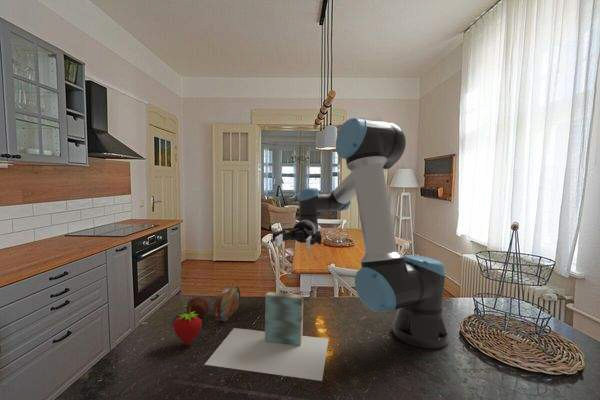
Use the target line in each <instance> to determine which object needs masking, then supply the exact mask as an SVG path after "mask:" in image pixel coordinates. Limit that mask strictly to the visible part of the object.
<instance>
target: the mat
mask: <svg viewBox="0 0 600 400" xmlns="http://www.w3.org/2000/svg"><path fill="white" fill-rule="evenodd" d="M329 339H330V338H326V337H325V338H324V337H316V336H308V335H302V344H301V346H300V345H291V344H283V343H275V342H266V341H265V330H264V331H263V330H255V329H246V328H237V327H233V329H232V330H231V331H230V332H229V333H228V335H227V336H226V338H224V340H223V341H222V342H221V344H220V345H219V346H218V347H217V348H216V349H215V351H214V352H213V353H212V354H211V356H210V357H209V358H208V359H207V360H206V362H205V363H204V365H205V366H209V367H210V366H211V367H218V368H227V369H233V370H239V371H240V370H241V371H247V372H255V373H262V374H269V375H270V374H271V375H276V376H277V375H278V376H282V377H283V376H284V377H289V378H291V377H292V378H296V379H297V378H298V379H303V380H304V379H306V380H313V381H318V382H319V381H320V382H323V376H324V371H325V366H326V365H325V364H326V358H327V353H328V345H329Z"/></svg>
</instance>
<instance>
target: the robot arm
mask: <svg viewBox="0 0 600 400" xmlns="http://www.w3.org/2000/svg"><path fill="white" fill-rule="evenodd" d="M406 143H407V142H406V136H405V133H404V131H403V130H402V129H401V128H400V126H399V125H397V124H396V123H393V122H389V121H382V120H381V121H379V120H371V119H366V118H363V117H360V118H359V117H358V118H357V117H352V118H349V119H346V121H345V122H343V124H342V125H341V127H339V130H338V132H337V135H336V139H335V151H336V153H337V155H338V157H339V158H341V159H343V160H345V162H346V163H345V164H346V168H347V169H348V170H349V171H351V172H349V174H348V175H347V176H346V177H345V178H344V179H343V180H342V181H341V182H340V183H339V184H338V185H337V186H336V187H335V188H334V189H333V190H332V192H319V188H316V187H315V188H314V187H303V188H301V189H300V190H299V196H298V208H299V209H298V210H299V211H298V222H297V223H296V224H294V225H293V228H292V229H290V230H287V229H285V228H282V230H279V231H276V232H273V233H272V237H271V238H272V240H271V241H272V242H274V248H278V247H279V246H281V245H282V244H283V243H284V242H286V241H289V240H290V241H296V242H297V243H301V244H305V249H306V250H309V249H310V247H311V246H312V245H316V243H317V245H322V240H323V239H322V237H323V236H322V231H320V230H319V222H318V217H319V212H342V211H347V210H349V207H350V205H351V200H352V199H353V198H355V196H356V202H357V206H358V207H357V208H358V214H359V221H360V229H361V235H362V241H363V247H364V256H363V257H362V258H361V260H360V264H361V266H360V267H361V268H360V269H358V270H357V272H356V273H355V275H356V276H355V277H354V287H355V290H356V294H357V296H358V298H359V300H360V301H361V302H362V303H363V305H364V306H365V307H366V308H367V309H369V310H370V311H371V312H374V313H384V312H392V311H395V310H397V312H396V314H395V317H394V320H393V322H392V333H393V334H394V336H395V337H396V339H398V340H400V341H401V342H403V343H405V344H407V345H409V346H412V347H417V348H419V349H420V348H421V349H427V350H428V349H429V350H431V349H432V350H433V349H434V350H436V349H441V348H444V347H446V346H447V345H448V343H449V331H448V326H447V324H446V319H445V317H444V311H443V310H444V297H445V281H446V280H445V279H446V276H447V275H446V267H445V264H444V263H443V262H442V261H440V260H438V259H434V258H431V257H427V256H423V255H417V254H402V253H400V252H399V251H398V248H397V243H396V237H395V231H394V224H393V219H392V213H391V206H390V201H389V195H388V190H387V189H388V188H387V184H386V178H385V170H390V169H391V168H392V167H394V166H395V165H396V164H397V163H398V162H399V160H401V158H402V156H403V155H404V153H405V150H406V145H407V144H406Z"/></svg>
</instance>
